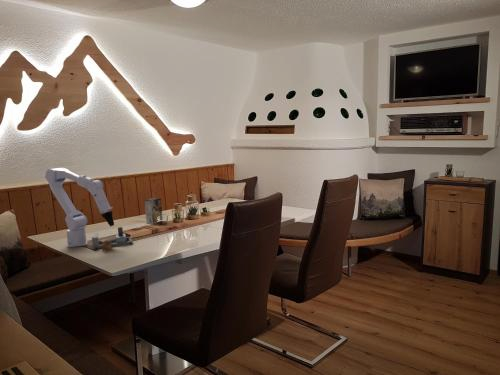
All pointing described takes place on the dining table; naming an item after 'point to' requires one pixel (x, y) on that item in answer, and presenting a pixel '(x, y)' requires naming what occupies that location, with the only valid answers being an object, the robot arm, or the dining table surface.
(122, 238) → the ram
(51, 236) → the dining table surface
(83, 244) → the robot arm
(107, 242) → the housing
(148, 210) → the coffee box
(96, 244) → the press frame
